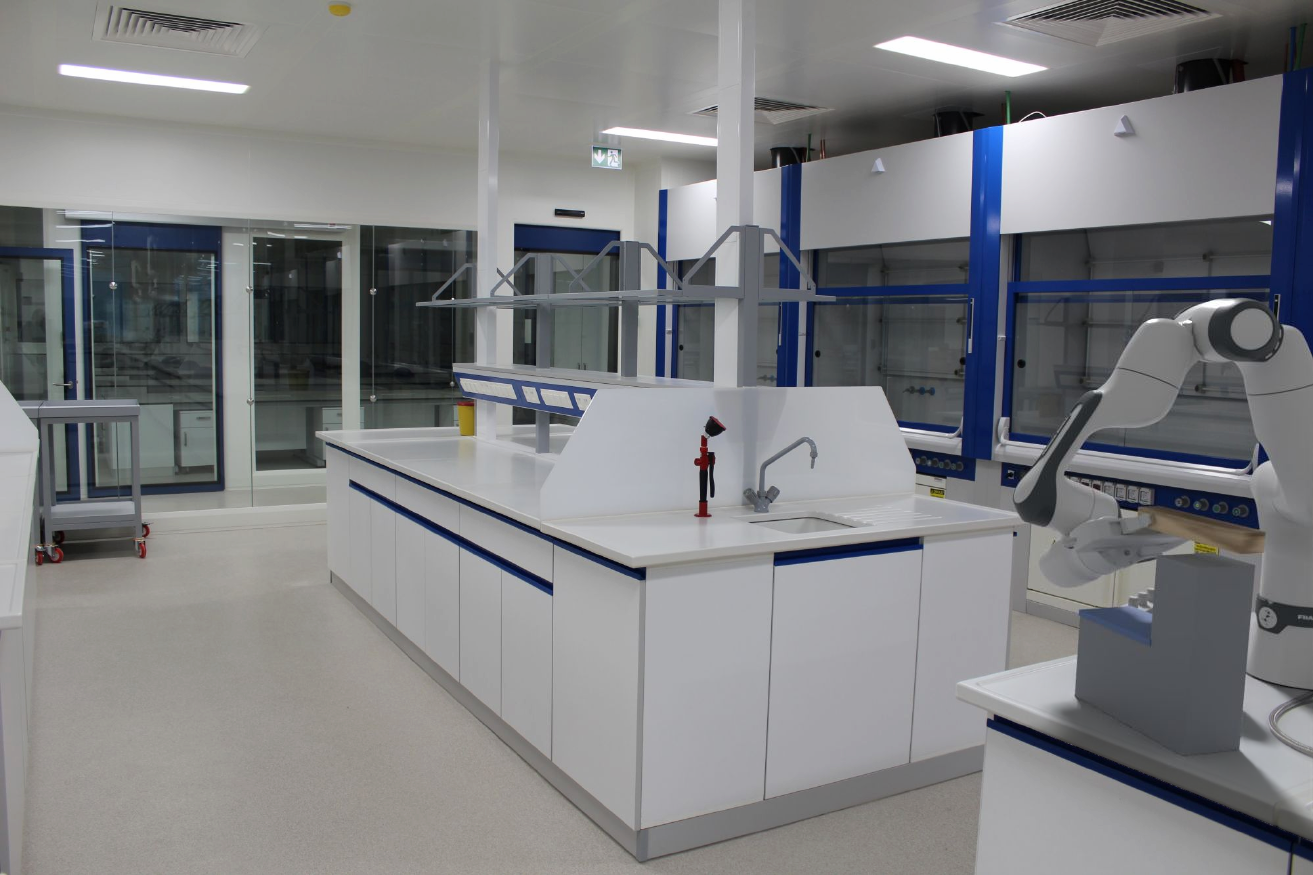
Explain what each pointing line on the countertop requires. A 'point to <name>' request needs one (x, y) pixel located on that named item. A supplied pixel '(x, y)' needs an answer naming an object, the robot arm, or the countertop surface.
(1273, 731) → the countertop surface
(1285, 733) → the countertop surface
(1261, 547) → the slide box
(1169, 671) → the l-shaped step block
